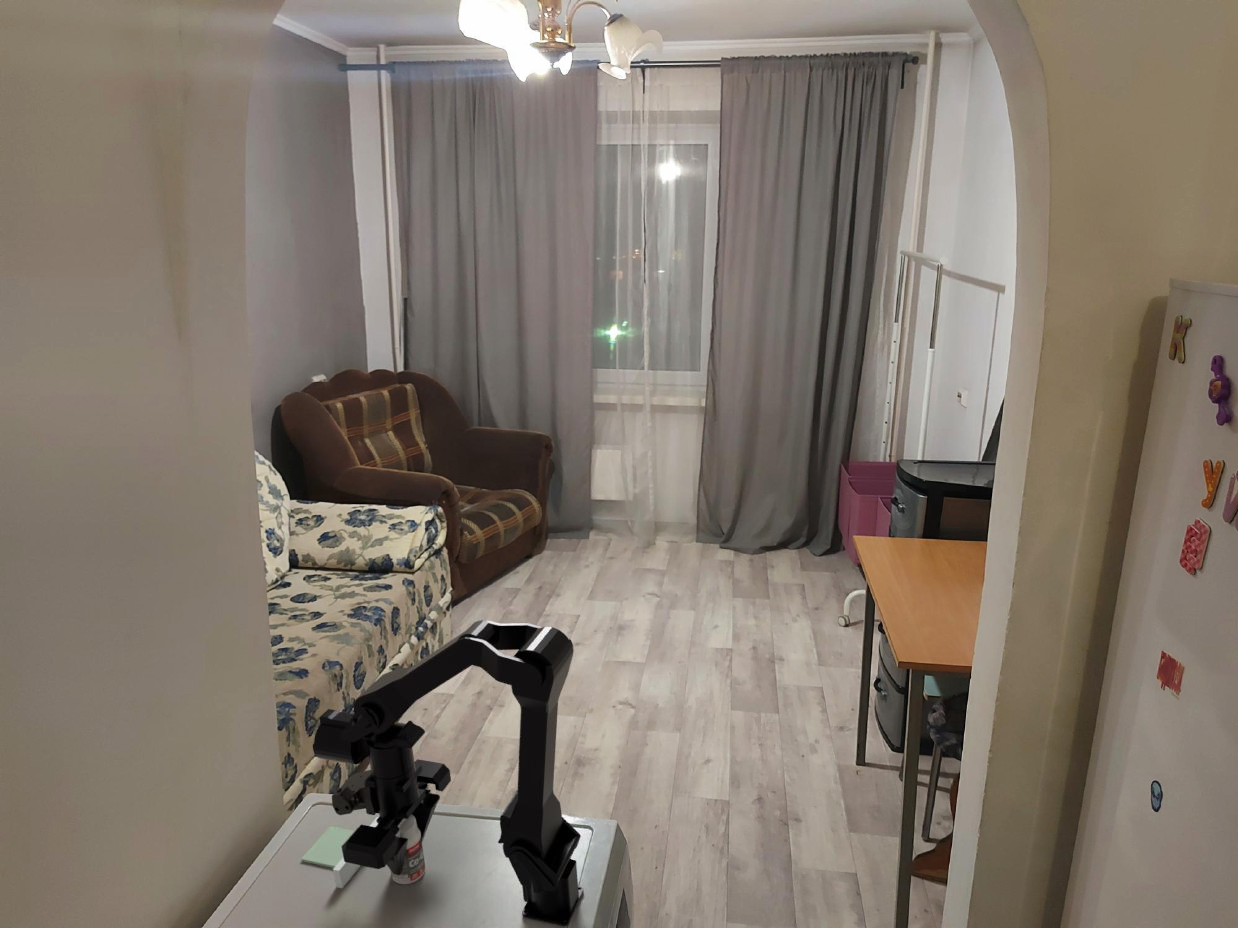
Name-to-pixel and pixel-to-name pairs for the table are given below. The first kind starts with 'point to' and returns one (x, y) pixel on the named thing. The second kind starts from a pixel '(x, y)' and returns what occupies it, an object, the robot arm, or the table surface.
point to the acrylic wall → (346, 868)
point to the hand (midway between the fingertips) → (407, 860)
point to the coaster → (328, 848)
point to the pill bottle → (411, 853)
